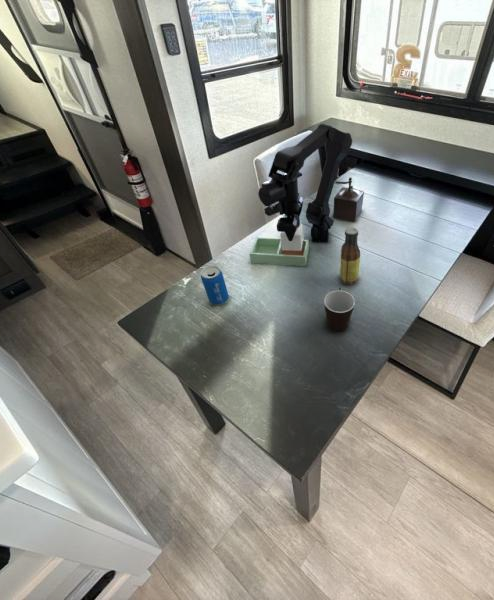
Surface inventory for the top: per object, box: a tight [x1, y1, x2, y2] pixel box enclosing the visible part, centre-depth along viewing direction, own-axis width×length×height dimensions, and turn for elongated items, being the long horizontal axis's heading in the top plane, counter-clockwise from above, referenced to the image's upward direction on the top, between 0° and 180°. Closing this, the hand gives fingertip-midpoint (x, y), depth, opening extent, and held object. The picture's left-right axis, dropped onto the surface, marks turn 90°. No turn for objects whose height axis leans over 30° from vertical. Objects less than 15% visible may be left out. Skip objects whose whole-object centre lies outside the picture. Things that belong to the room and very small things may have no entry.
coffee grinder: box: [332, 167, 365, 222], centre depth 132 cm, size 16×11×18 cm
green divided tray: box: [249, 236, 310, 267], centre depth 117 cm, size 11×20×4 cm, turn 83°
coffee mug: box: [323, 286, 356, 333], centre depth 92 cm, size 12×9×10 cm
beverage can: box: [200, 265, 230, 306], centre depth 99 cm, size 6×6×12 cm
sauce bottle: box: [339, 226, 361, 285], centre depth 101 cm, size 6×6×20 cm
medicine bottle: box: [279, 214, 304, 251], centre depth 110 cm, size 7×7×12 cm
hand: (292, 234), depth 111 cm, fingers closed on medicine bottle, 7 cm apart
